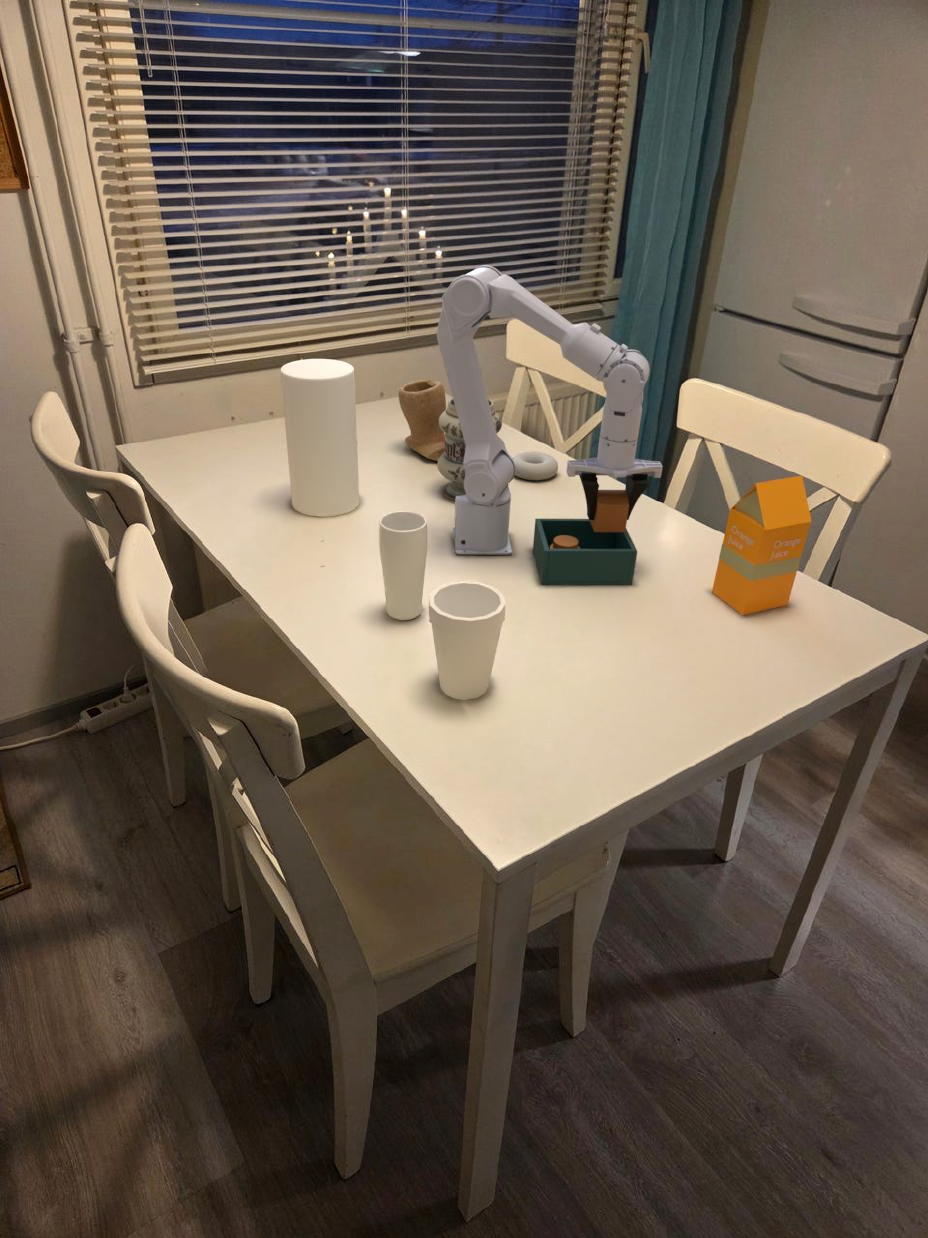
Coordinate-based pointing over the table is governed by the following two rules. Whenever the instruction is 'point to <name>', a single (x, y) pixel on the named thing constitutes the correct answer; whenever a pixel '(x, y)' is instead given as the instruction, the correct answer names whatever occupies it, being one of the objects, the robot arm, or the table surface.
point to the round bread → (565, 542)
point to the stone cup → (424, 416)
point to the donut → (535, 465)
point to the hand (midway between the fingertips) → (607, 517)
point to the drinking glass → (403, 562)
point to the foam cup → (466, 635)
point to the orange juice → (763, 546)
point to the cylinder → (321, 436)
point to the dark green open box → (583, 554)
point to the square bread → (610, 511)
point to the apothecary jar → (456, 449)
